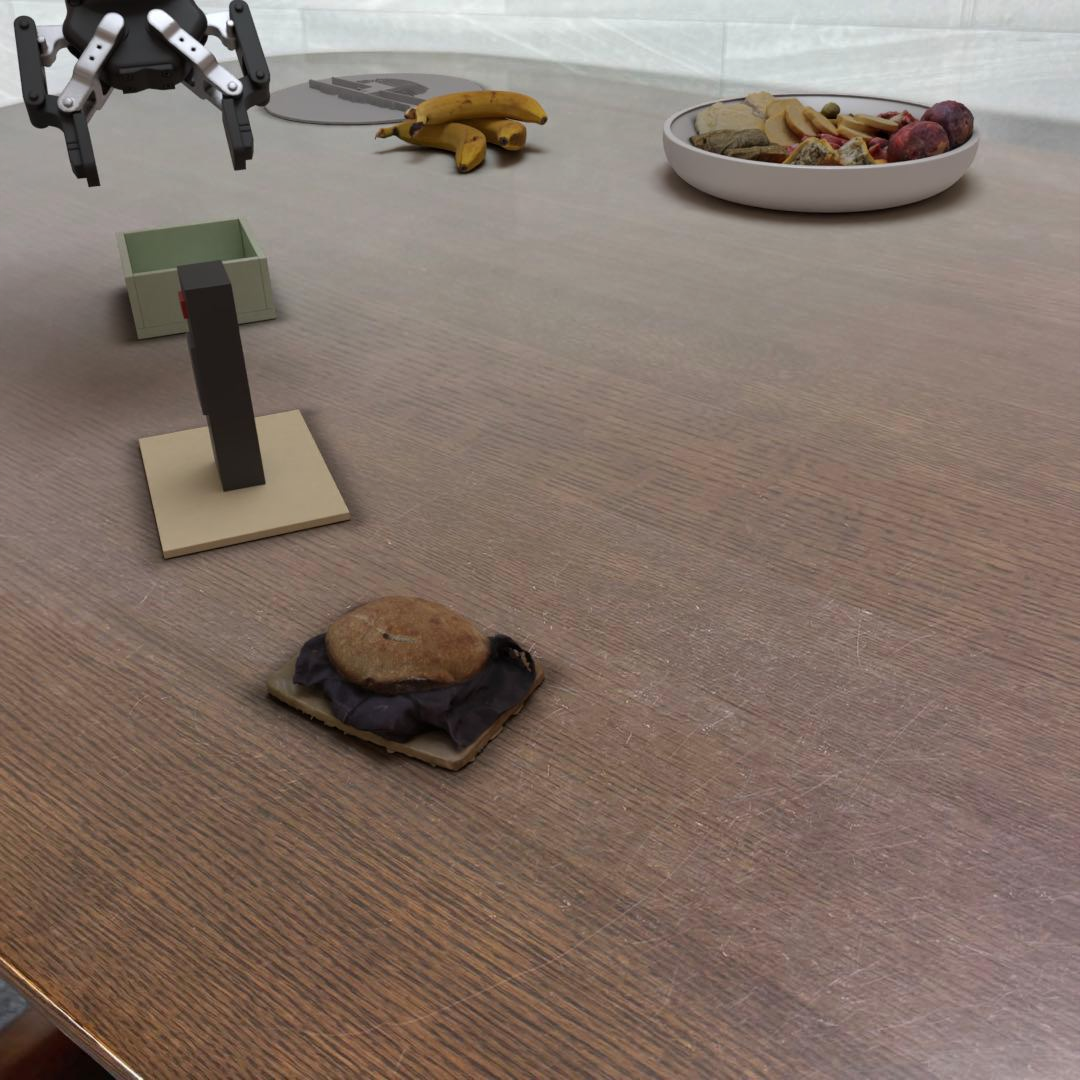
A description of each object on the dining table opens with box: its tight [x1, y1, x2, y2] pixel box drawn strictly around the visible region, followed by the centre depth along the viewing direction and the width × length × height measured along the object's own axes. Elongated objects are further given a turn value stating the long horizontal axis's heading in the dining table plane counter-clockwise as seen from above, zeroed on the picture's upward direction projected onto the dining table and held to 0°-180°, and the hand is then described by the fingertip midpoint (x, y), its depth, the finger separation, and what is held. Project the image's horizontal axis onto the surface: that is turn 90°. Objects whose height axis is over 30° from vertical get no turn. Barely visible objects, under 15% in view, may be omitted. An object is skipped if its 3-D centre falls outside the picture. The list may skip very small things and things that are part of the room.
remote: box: [177, 260, 266, 492], centre depth 67 cm, size 3×4×12 cm
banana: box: [374, 89, 548, 173], centre depth 129 cm, size 15×19×6 cm
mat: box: [138, 409, 351, 560], centre depth 70 cm, size 14×10×1 cm
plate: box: [264, 72, 484, 125], centre depth 155 cm, size 28×28×1 cm
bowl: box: [662, 90, 981, 214], centre depth 117 cm, size 30×30×8 cm
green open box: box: [115, 215, 277, 340], centre depth 93 cm, size 10×11×5 cm
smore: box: [265, 595, 546, 772], centre depth 53 cm, size 11×8×4 cm
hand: (168, 171), depth 71 cm, fingers open, 8 cm apart
